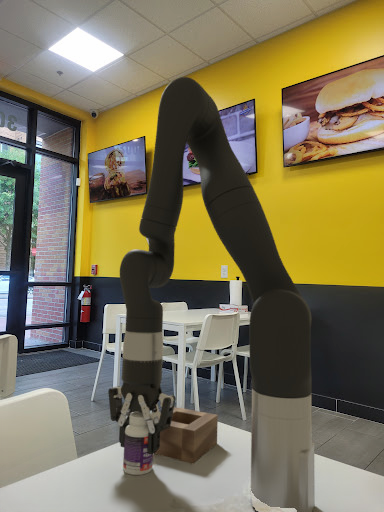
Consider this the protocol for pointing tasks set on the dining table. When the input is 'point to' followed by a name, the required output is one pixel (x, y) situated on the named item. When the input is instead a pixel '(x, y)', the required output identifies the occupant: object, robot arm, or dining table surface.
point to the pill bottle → (137, 446)
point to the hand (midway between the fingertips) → (138, 448)
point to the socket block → (188, 435)
